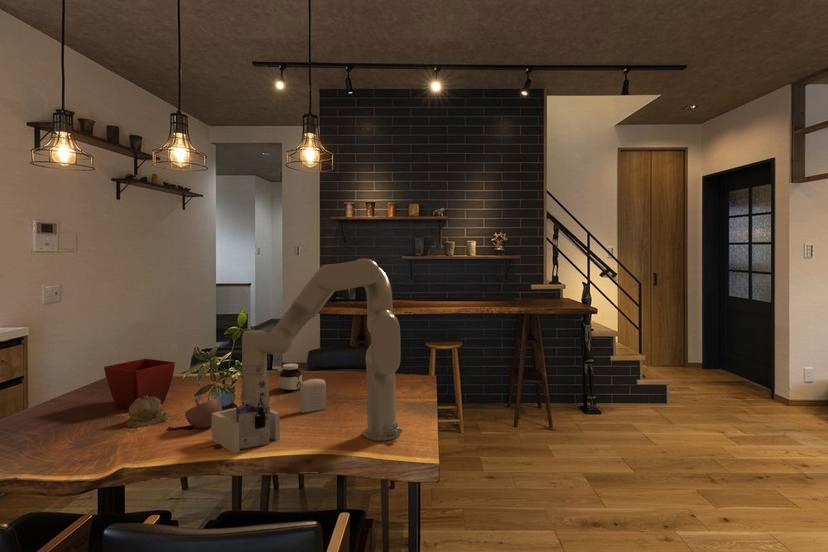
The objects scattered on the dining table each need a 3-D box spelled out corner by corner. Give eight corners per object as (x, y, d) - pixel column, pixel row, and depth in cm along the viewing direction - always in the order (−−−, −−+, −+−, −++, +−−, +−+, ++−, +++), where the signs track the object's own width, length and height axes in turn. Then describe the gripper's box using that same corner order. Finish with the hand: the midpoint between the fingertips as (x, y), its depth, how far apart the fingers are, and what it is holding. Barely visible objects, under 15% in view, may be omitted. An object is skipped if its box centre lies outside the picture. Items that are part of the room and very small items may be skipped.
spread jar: (288, 394, 220) (288, 368, 220) (270, 390, 226) (270, 365, 226) (307, 388, 230) (307, 363, 230) (290, 385, 236) (289, 360, 236)
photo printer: (323, 406, 201) (322, 376, 200) (327, 409, 197) (327, 378, 197) (298, 411, 195) (298, 380, 195) (302, 414, 191) (302, 382, 191)
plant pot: (177, 401, 210) (176, 361, 210) (135, 414, 193) (134, 371, 192) (146, 396, 218) (145, 358, 218) (103, 408, 201) (102, 366, 200)
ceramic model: (122, 429, 176) (121, 401, 175) (127, 420, 186) (126, 393, 186) (166, 424, 181) (166, 397, 180) (169, 415, 191) (168, 389, 191)
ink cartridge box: (266, 435, 165) (267, 395, 162) (270, 444, 160) (271, 402, 157) (234, 441, 160) (235, 399, 157) (238, 450, 155) (238, 407, 152)
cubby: (279, 439, 164) (279, 412, 164) (234, 453, 153) (234, 424, 153) (255, 428, 175) (255, 403, 175) (212, 440, 164) (211, 413, 164)
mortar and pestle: (203, 420, 185) (203, 389, 184) (229, 423, 180) (228, 392, 180) (177, 430, 174) (177, 398, 173) (204, 434, 169) (203, 401, 169)
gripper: (279, 372, 155) (278, 429, 155) (252, 363, 167) (251, 416, 167) (256, 376, 149) (256, 434, 150) (230, 366, 162) (230, 421, 162)
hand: (254, 424), depth 159 cm, fingers closed on ink cartridge box, 6 cm apart
